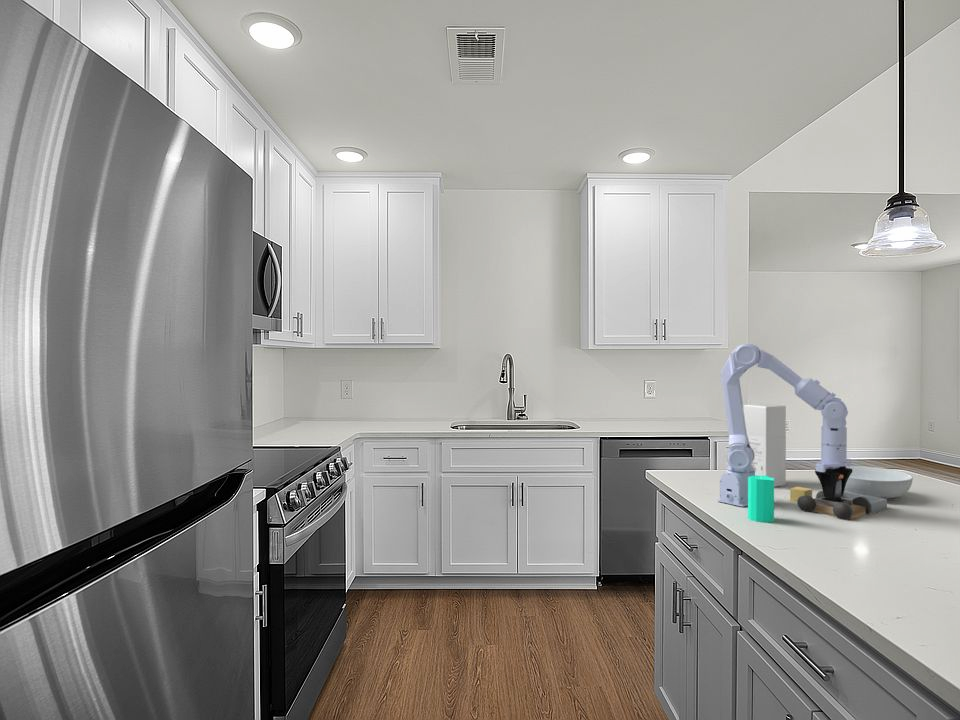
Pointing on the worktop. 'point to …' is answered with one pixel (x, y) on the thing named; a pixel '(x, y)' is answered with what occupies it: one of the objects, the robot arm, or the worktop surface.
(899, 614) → the worktop surface
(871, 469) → the serving bowl
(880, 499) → the tray
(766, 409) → the tall white carton
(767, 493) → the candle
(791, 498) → the yellow cube
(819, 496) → the trolley
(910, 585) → the worktop surface
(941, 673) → the worktop surface
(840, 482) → the pin
